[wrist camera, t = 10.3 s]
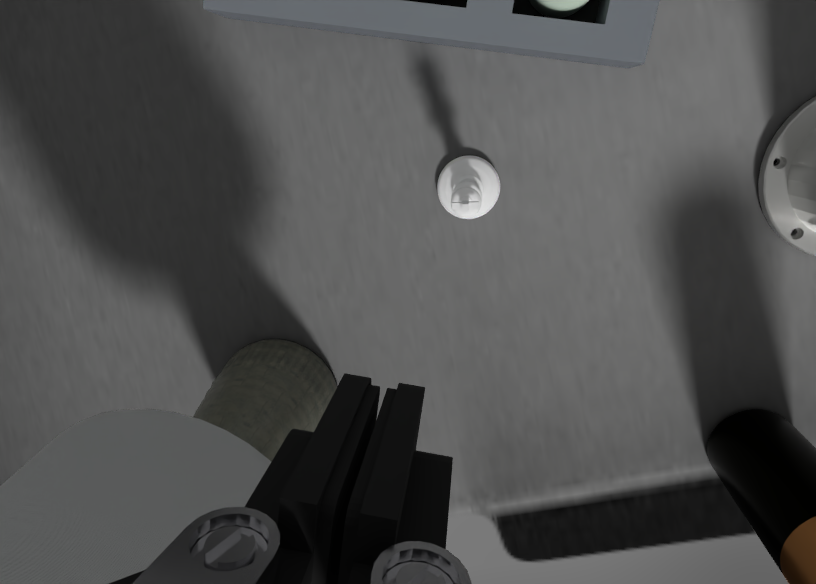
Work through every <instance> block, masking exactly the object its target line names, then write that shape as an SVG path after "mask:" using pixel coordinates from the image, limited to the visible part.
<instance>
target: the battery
mask: <svg viewBox="0 0 816 584" xmlns="http://www.w3.org/2000/svg"><path fill="white" fill-rule="evenodd" d="M707 455H708V459H709V461H710V463H711V465H712V467H713V468H714V470H715V471H716V473H717V475H718V476H719V478H720V479H721V481H722V482H723V484H724V485H725V487H726V488H727V490H728V491H729V493H730V494H731V496H732V498H733V499H734V501H735V502H736V504H737V505H738V507H739V508H740V510H741V511H742V513H743V514H744V516H745V517H746V519H747V520H748V522H749V523H750V525H751V527H752V528H753V530H754V531H755V533H756V534H757V536H758V537H759V539H760V540H761V542H762V543H763V545H764V546H765V548H766V549H767V551H768V552H769V554H770V555H771V557H772V558H773V560H774V562H775V563H776V565H777V566H778V567H779V569H780V571H781V572H782V574H783V575H784V577H785V578H786V580H787V581H788V583H789V584H816V448H815V447H814V446H813V445H812V444H811V443H810V442H809V441H808V440H807V439H806V438H805V437H804V436H803V435H802V434H801V433H800V432H799V431H798V430H797V429H796V428H795V427H794V426H793V425H792V424H791V423H790V422H789V421H788V420H786V419H785V418H784V417H782V416H781V415H779V414H777V413H774V412H771V411H767V410H759V409H754V410H745V411H741V412H738V413H735V414H733V415H731V416H729V417H727V418H726V419H724V420H723V421H721V422H720V423H719V424H718V425H717V426H716V427H715V429H714V430H713V431H712V433H711V435H710V437H709V440H708V444H707Z"/></svg>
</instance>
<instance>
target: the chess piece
mask: <svg viewBox="0 0 816 584" xmlns="http://www.w3.org/2000/svg"><path fill="white" fill-rule="evenodd" d="M437 192H438V197H439V200H440V202H441V204H442V205H443V207H444V208H445V209H446V210H447V211H448V212H449V213H451V214H452V215H454V216H456V217H459V218H463V219H473V218H477V217H480V216H482V215H484V214H486V213H487V212H488V211H489V210H490V209H491V208H492V207H493V206H494V205H495V203H496V201H497V199H498V197H499V193H500V180H499V176H498V174H497V172H496V170H495V169H494V167H493V166H492V165H491V164H490V163H489V162H488V161H486V160H485V159H483V158H480V157H477V156H471V155H467V156H461V157H458V158H456V159H454V160H452V161H451V162H449V163H448V164H447V165H446V166H445V167H444V168H443V170H442V172H441V173H440V176H439V178H438V183H437Z"/></svg>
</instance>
